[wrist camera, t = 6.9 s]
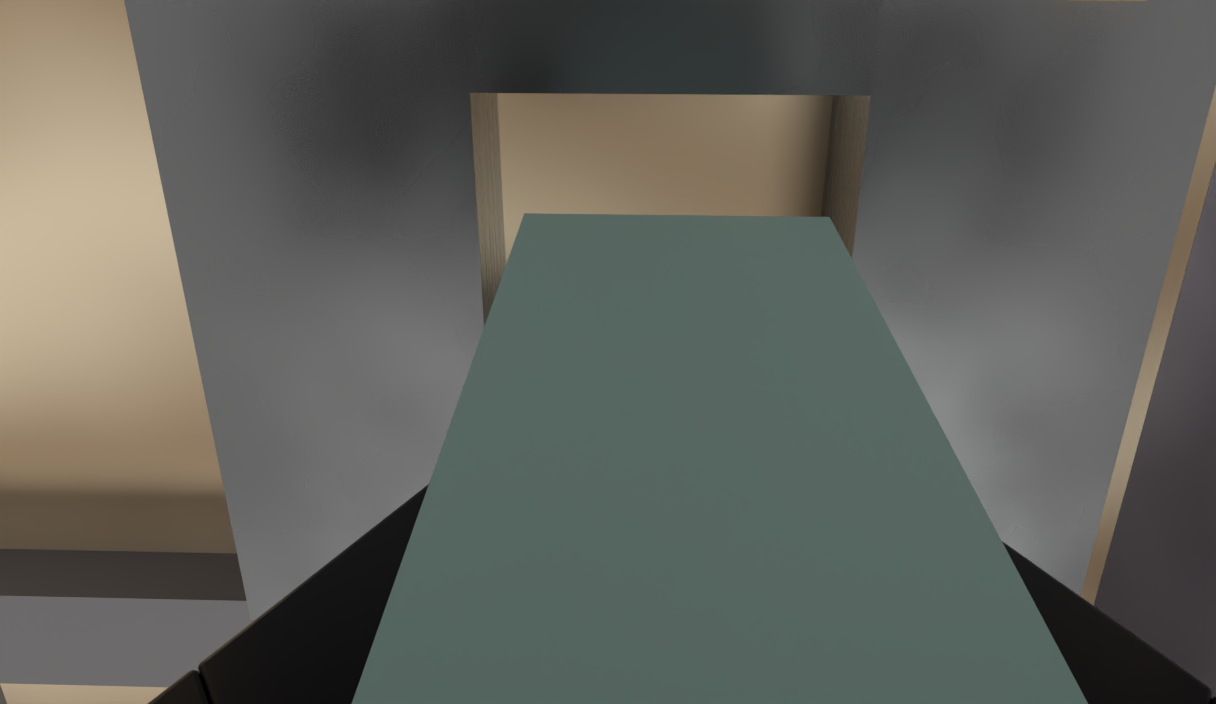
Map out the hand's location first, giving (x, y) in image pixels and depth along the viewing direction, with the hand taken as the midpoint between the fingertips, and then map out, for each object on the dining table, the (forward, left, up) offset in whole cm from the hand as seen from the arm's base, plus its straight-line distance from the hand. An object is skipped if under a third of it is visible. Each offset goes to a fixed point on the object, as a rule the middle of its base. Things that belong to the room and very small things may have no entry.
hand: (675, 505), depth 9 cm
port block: (0, 0, -7) cm, 7 cm away
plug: (0, 0, -2) cm, 2 cm away
